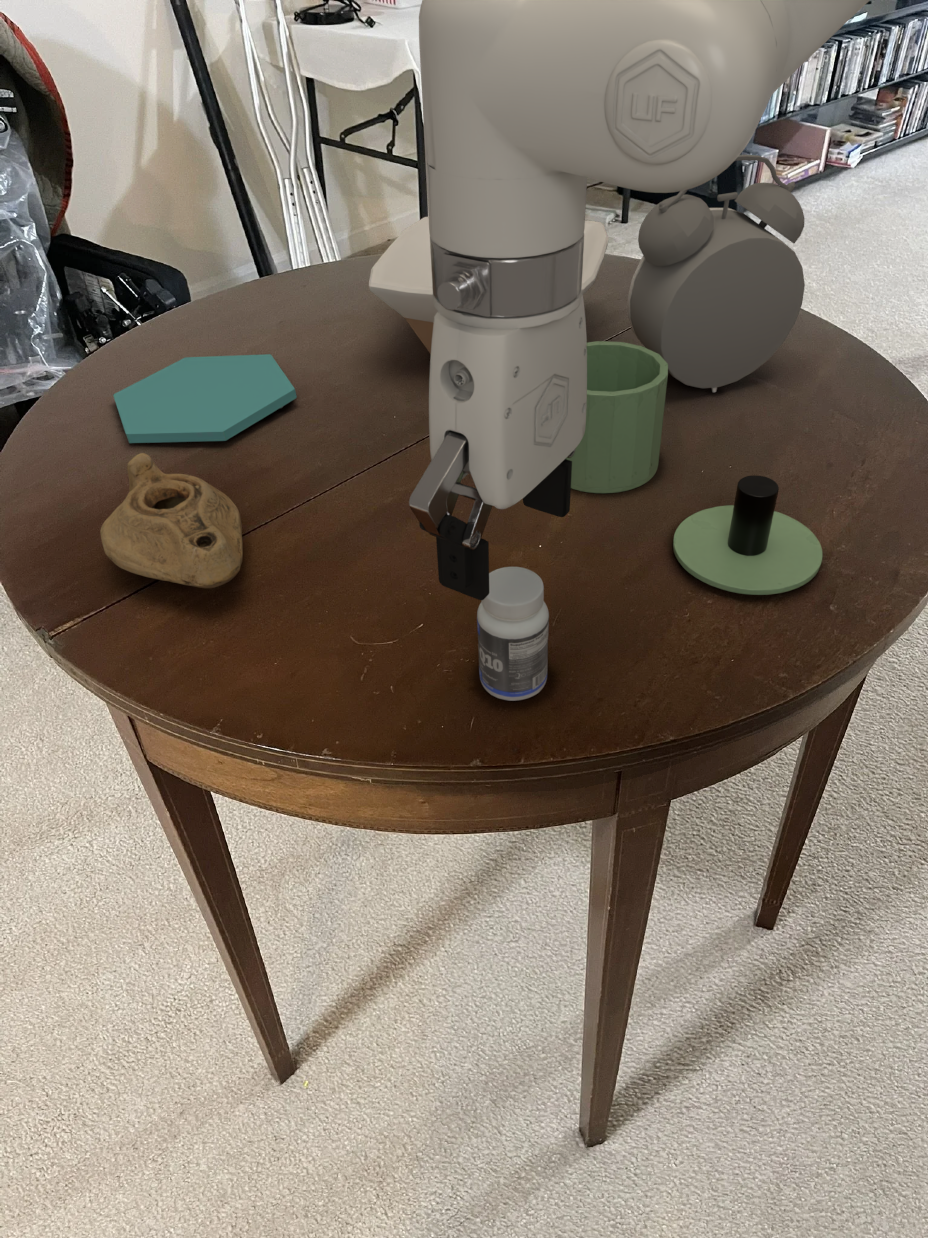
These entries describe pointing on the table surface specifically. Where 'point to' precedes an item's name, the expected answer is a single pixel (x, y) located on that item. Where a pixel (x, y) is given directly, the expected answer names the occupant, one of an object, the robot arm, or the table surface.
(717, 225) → the alarm clock
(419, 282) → the bowl
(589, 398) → the cup
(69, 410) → the table surface
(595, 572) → the table surface
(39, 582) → the table surface
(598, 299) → the table surface
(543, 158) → the robot arm
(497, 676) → the pill bottle
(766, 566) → the tin lid
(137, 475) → the oil lamp
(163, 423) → the plaque
